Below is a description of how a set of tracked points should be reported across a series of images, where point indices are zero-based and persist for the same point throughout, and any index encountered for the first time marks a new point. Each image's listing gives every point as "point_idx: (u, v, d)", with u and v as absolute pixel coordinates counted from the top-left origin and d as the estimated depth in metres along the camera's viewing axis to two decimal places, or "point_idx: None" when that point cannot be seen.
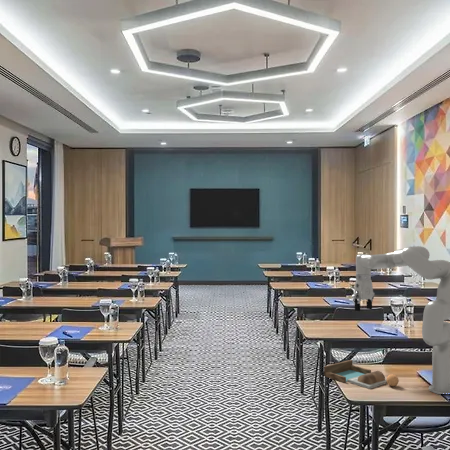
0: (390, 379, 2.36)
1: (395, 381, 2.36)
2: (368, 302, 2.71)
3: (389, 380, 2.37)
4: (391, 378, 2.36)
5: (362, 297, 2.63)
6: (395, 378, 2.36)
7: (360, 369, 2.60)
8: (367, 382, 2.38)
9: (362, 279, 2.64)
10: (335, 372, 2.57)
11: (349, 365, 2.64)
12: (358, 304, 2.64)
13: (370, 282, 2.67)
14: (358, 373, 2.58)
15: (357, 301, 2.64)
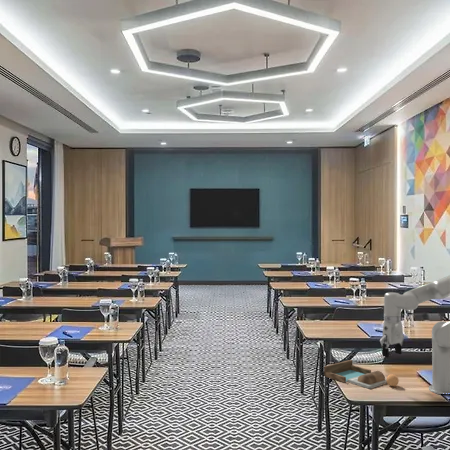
0: (390, 379, 2.36)
1: (395, 381, 2.36)
2: (397, 346, 2.41)
3: (389, 380, 2.37)
4: (391, 378, 2.36)
5: (391, 342, 2.34)
6: (395, 378, 2.36)
7: (360, 369, 2.60)
8: (367, 382, 2.38)
9: (391, 321, 2.35)
10: (335, 372, 2.57)
11: (349, 365, 2.64)
12: (386, 349, 2.35)
13: (400, 324, 2.38)
14: (358, 373, 2.58)
15: (385, 346, 2.35)
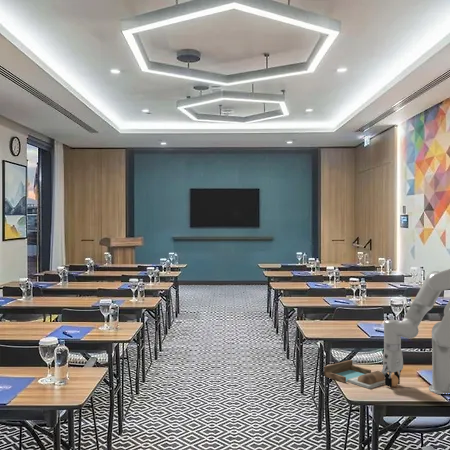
0: None
1: (395, 381, 2.36)
2: None
3: None
4: None
5: (391, 370, 2.34)
6: (395, 378, 2.36)
7: (360, 369, 2.60)
8: (367, 382, 2.38)
9: (391, 349, 2.35)
10: (335, 372, 2.57)
11: (349, 365, 2.64)
12: (389, 379, 2.36)
13: (400, 352, 2.38)
14: (358, 373, 2.58)
15: (388, 376, 2.35)
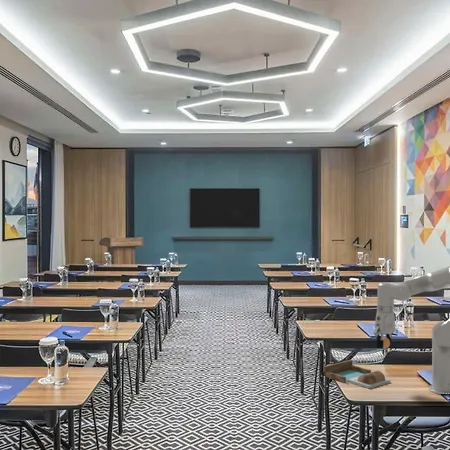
0: None
1: (386, 343, 2.38)
2: None
3: None
4: (383, 340, 2.38)
5: (383, 331, 2.36)
6: (387, 340, 2.38)
7: (360, 369, 2.60)
8: (367, 382, 2.38)
9: (384, 311, 2.37)
10: (335, 372, 2.57)
11: (349, 365, 2.64)
12: (381, 341, 2.38)
13: (392, 314, 2.40)
14: (358, 373, 2.58)
15: None
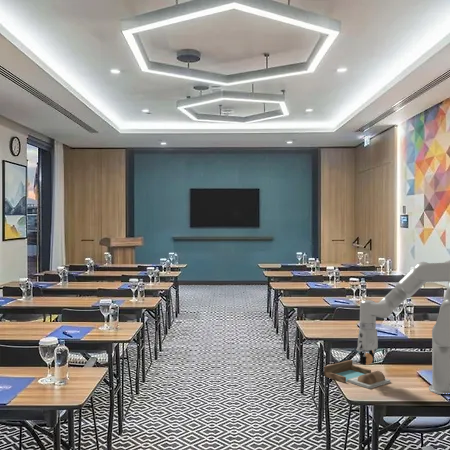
0: None
1: (369, 359, 2.42)
2: None
3: None
4: (365, 356, 2.43)
5: (366, 348, 2.40)
6: (369, 356, 2.43)
7: (360, 369, 2.60)
8: (367, 382, 2.38)
9: (366, 328, 2.41)
10: (335, 372, 2.57)
11: (349, 365, 2.64)
12: (364, 357, 2.42)
13: (375, 331, 2.44)
14: (358, 373, 2.58)
15: None
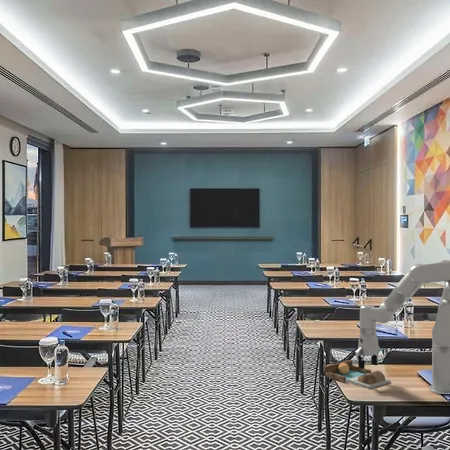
0: (341, 368, 2.55)
1: (345, 370, 2.54)
2: (373, 357, 2.48)
3: (340, 368, 2.55)
4: (342, 367, 2.55)
5: (366, 353, 2.40)
6: (346, 368, 2.55)
7: (360, 369, 2.60)
8: (367, 382, 2.38)
9: (366, 334, 2.41)
10: (335, 372, 2.57)
11: (349, 365, 2.64)
12: (362, 361, 2.41)
13: (375, 336, 2.44)
14: (358, 373, 2.58)
15: (361, 358, 2.41)
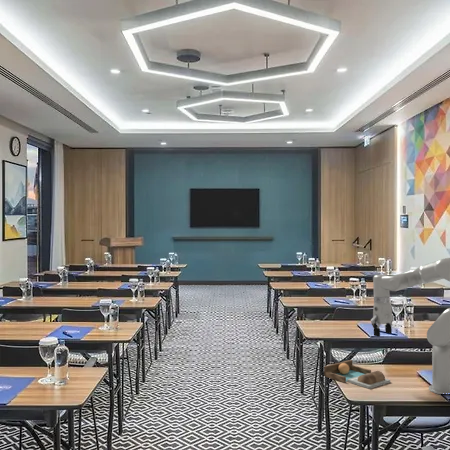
0: (342, 368, 2.55)
1: (346, 371, 2.54)
2: (387, 326, 2.52)
3: (340, 369, 2.55)
4: (343, 367, 2.55)
5: (382, 321, 2.45)
6: (346, 368, 2.55)
7: (360, 369, 2.60)
8: (367, 382, 2.38)
9: (381, 302, 2.46)
10: (335, 372, 2.57)
11: (349, 365, 2.64)
12: (377, 329, 2.45)
13: (389, 305, 2.49)
14: (358, 373, 2.58)
15: (376, 326, 2.45)
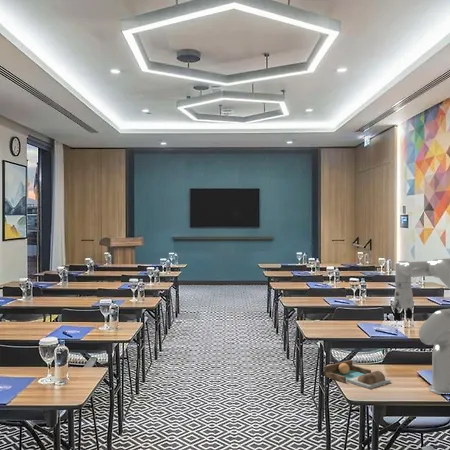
0: (342, 368, 2.55)
1: (346, 371, 2.54)
2: (408, 311, 2.58)
3: (341, 369, 2.55)
4: (343, 367, 2.55)
5: (403, 306, 2.51)
6: (346, 368, 2.54)
7: (360, 369, 2.60)
8: (367, 382, 2.38)
9: (402, 287, 2.52)
10: (335, 372, 2.57)
11: (349, 365, 2.64)
12: (398, 313, 2.51)
13: (410, 290, 2.55)
14: (358, 373, 2.58)
15: (397, 310, 2.51)
